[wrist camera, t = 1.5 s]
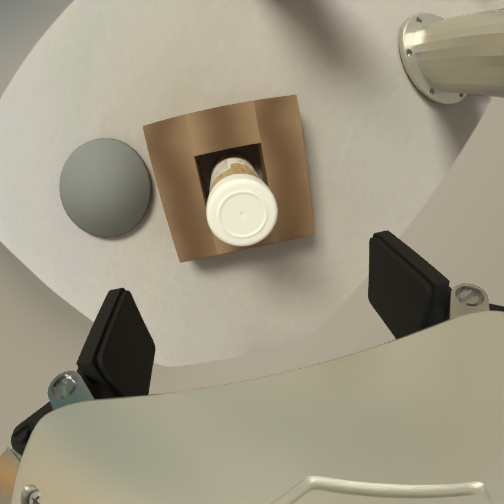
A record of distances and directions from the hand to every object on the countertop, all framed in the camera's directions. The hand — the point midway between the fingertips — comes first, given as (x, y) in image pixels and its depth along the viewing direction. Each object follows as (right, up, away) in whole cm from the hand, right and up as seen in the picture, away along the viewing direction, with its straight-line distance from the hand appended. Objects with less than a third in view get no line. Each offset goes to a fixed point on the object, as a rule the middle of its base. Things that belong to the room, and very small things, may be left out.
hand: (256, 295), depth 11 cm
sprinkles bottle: (-2, +10, +20) cm, 22 cm away
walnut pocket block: (-2, +10, +20) cm, 22 cm away
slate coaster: (-16, +9, +18) cm, 26 cm away
